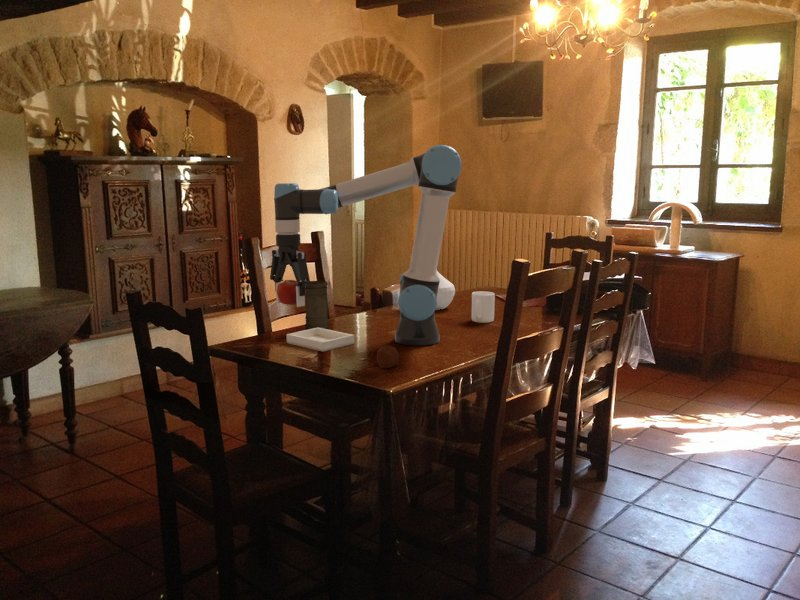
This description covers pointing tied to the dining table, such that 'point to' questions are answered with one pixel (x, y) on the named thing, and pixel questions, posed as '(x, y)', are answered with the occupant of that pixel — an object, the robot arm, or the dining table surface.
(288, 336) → the dish
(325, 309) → the container
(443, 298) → the vase
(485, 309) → the mug
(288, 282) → the tomato
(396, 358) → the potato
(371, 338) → the dining table surface
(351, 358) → the dining table surface
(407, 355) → the dining table surface
